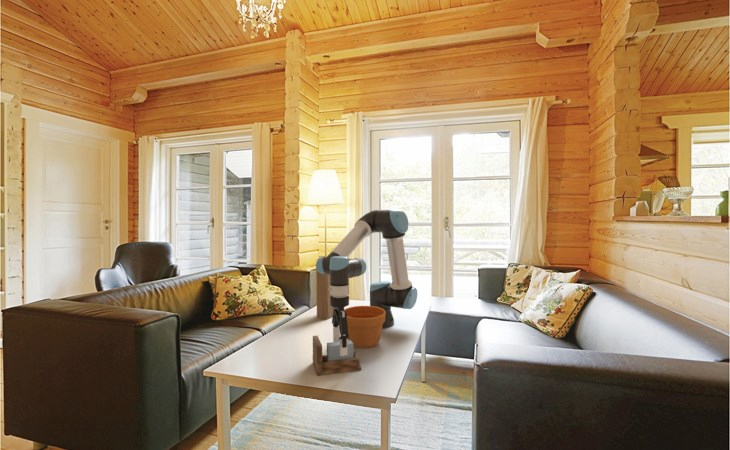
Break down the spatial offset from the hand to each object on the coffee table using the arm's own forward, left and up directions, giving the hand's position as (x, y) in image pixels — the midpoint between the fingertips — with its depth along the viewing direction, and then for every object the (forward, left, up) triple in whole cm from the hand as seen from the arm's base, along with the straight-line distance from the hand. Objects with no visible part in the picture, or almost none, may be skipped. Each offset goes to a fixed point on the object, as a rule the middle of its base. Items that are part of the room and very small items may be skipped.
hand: (340, 348), depth 135 cm
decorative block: (-8, -72, -7) cm, 73 cm away
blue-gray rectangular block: (0, 0, -6) cm, 6 cm away
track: (+2, 0, -7) cm, 7 cm away
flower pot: (-16, -22, -7) cm, 28 cm away
